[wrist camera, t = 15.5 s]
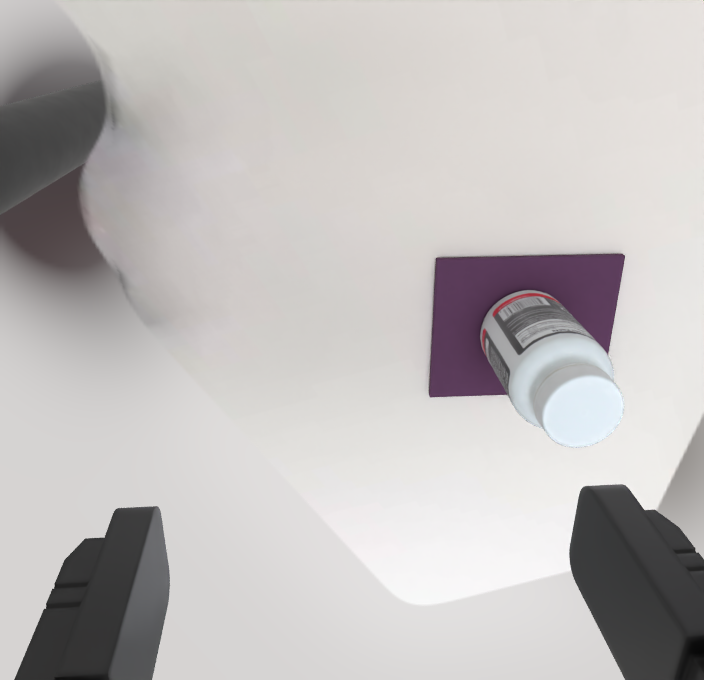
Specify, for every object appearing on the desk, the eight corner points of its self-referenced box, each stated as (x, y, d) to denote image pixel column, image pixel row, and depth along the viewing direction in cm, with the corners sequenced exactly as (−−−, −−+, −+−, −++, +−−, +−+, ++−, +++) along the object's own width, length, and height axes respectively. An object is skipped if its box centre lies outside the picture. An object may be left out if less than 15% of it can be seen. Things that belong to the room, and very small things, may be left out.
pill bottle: (544, 378, 42) (608, 471, 33) (465, 357, 41) (509, 447, 32) (581, 300, 40) (659, 377, 31) (498, 277, 39) (555, 349, 30)
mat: (428, 394, 43) (429, 397, 42) (435, 257, 39) (437, 259, 39) (599, 388, 43) (601, 391, 43) (622, 253, 39) (625, 255, 39)
